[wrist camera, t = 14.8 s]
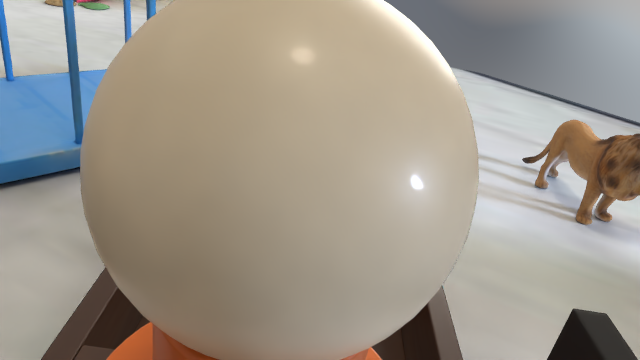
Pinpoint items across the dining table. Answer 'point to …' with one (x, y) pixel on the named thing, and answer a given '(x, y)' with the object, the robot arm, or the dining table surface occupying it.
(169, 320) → the skittle
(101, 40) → the dining table surface
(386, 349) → the crate
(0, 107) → the file sorter
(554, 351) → the robot arm
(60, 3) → the toy pieces
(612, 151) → the lion figurine
